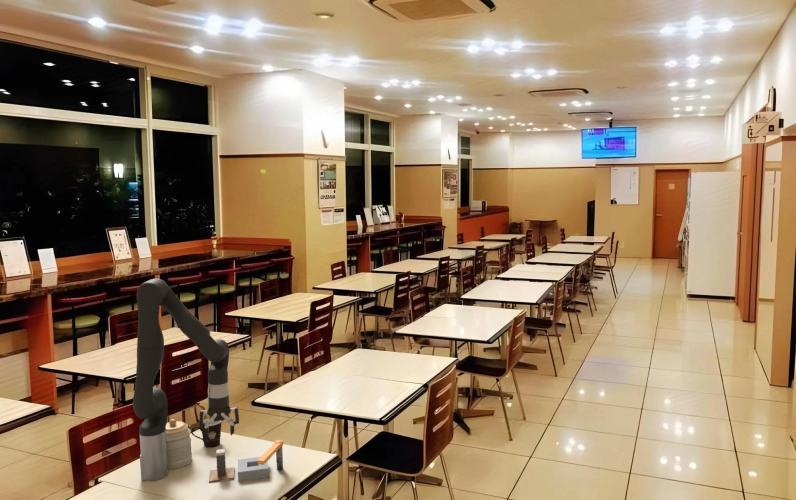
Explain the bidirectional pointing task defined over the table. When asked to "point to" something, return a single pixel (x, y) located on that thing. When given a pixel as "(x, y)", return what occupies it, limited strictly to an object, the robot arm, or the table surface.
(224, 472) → the plug
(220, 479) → the pad
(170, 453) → the jar
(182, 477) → the table surface
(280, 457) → the post
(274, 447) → the orange flat bar
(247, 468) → the socket block
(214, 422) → the coffee mug
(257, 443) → the table surface
